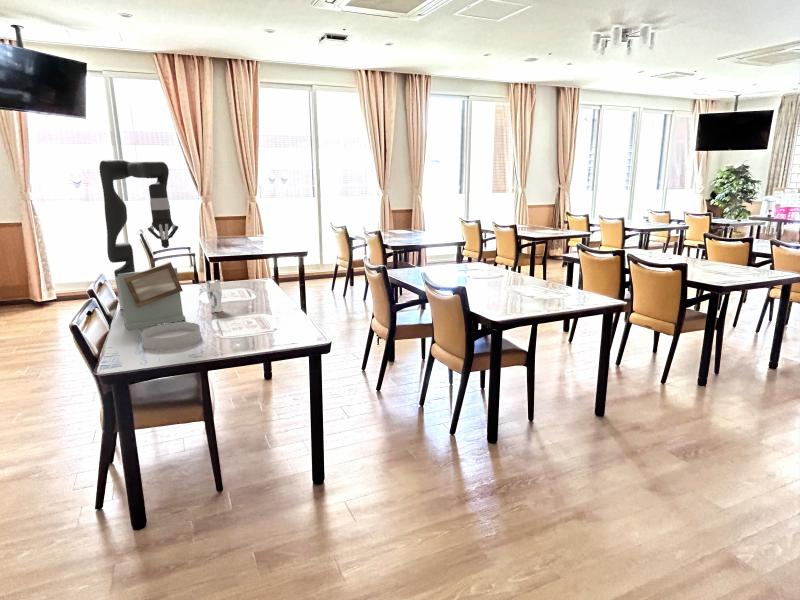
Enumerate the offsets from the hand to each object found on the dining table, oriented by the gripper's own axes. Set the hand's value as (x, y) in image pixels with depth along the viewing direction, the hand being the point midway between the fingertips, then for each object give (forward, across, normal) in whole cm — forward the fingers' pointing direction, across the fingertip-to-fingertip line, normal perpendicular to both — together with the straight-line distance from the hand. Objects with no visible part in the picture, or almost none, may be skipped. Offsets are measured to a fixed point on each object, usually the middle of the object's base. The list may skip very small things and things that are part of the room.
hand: (165, 247), depth 228 cm
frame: (+23, +5, 0) cm, 23 cm away
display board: (+34, +8, -4) cm, 35 cm away
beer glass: (+34, -20, -6) cm, 40 cm away
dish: (+34, +7, +31) cm, 47 cm away
